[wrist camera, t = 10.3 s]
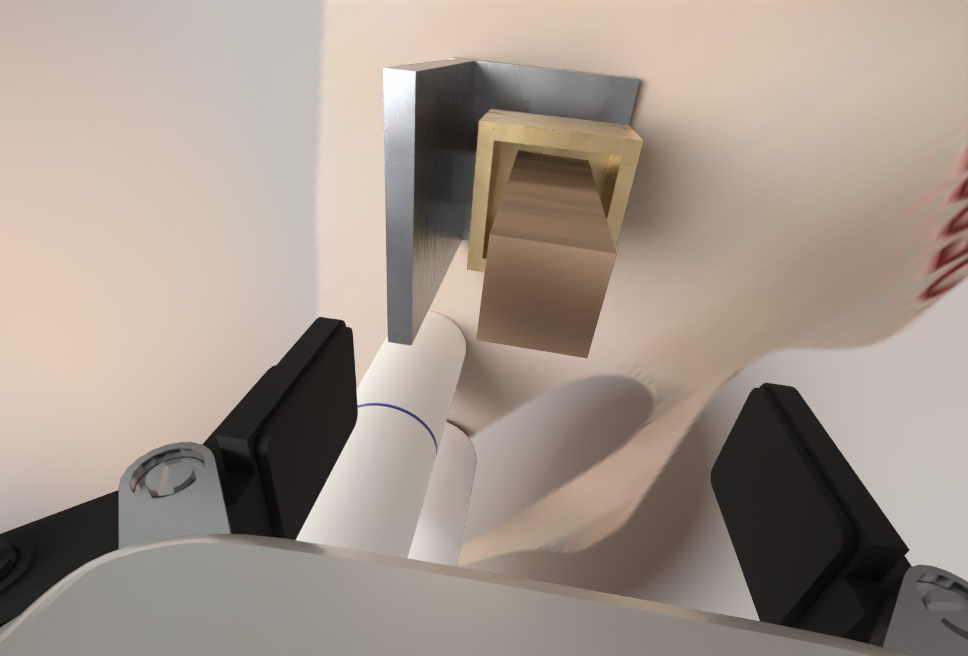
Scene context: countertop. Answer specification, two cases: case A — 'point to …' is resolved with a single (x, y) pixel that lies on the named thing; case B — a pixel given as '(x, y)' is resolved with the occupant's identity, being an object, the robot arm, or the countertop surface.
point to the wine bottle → (446, 501)
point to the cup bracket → (485, 160)
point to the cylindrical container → (391, 444)
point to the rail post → (547, 258)
